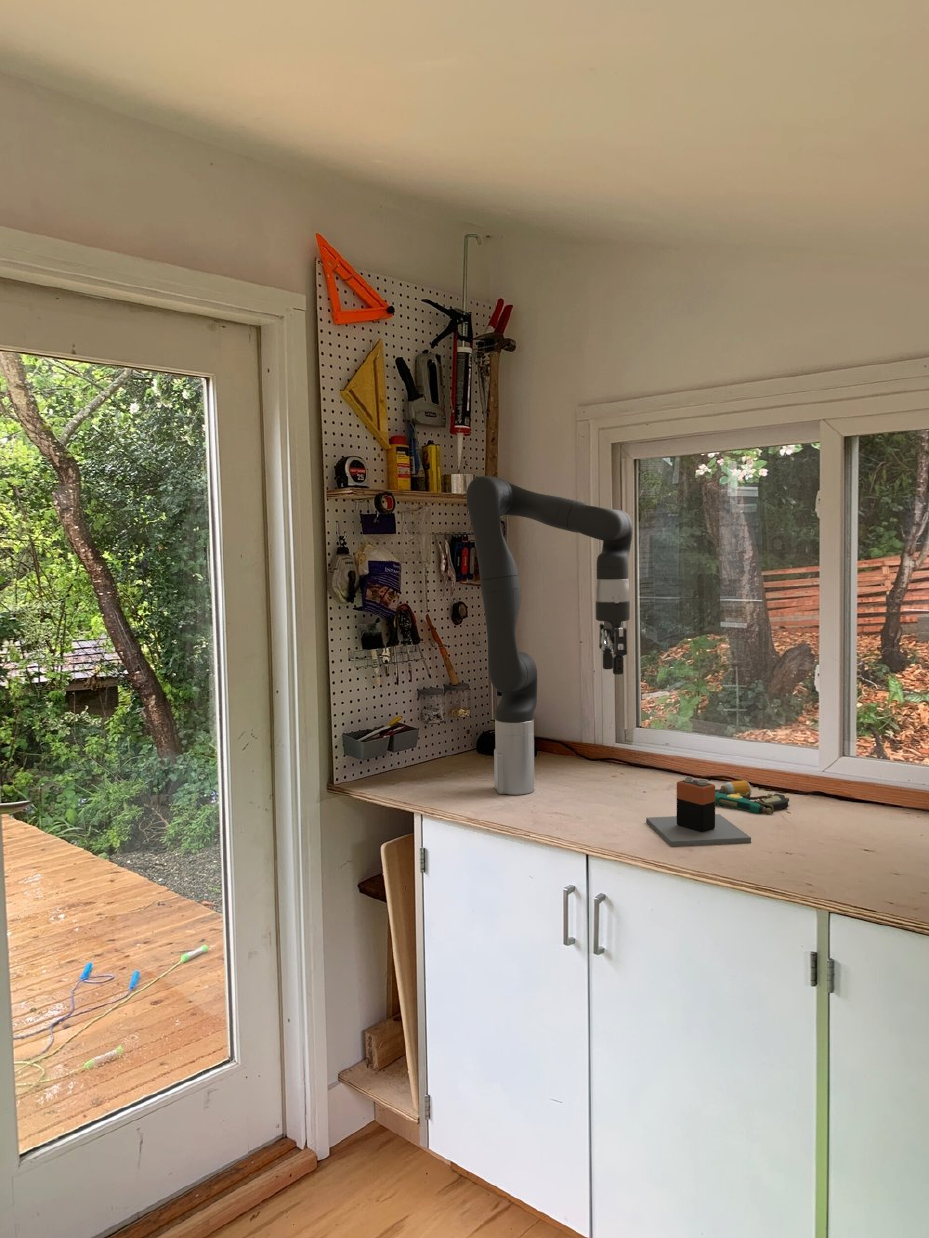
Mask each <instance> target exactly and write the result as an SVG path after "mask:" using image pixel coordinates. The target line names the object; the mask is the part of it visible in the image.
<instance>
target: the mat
mask: <svg viewBox="0 0 929 1238" xmlns="http://www.w3.org/2000/svg"><path fill="white" fill-rule="evenodd" d="M645 823H646V824H647V825H648V826H649V827H650V828H651V829H652V830H653V831H654V832H655V833H657V834H658V835H659V837H661V838H662V839H663V840H664V841H665V842H666V843H667V844H668V845H669V846H671V847H688V846H691V847H692V846H707V845H709V846H712V845H727V844H729V845H730V844H748V843H752V837H751V836H750V835H748V833H747V832H746V833H745V831H743V830H742V829H740V828H739V827H738V826H736V825H735V824H733V823H732V822H731V821H730V820H728V819H727V818H725V816H722V815H721V814H720V813H719V814H717V813H715V828H714V829H711V830H708V831H704V832H699V831H696V830H692V829H689V828H686V827H682V826H679V825H677V815H675V816H657V817H656V816H654V817H646V818H645Z"/></svg>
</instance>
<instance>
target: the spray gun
mask: <svg viewBox="0 0 929 1238" xmlns="http://www.w3.org/2000/svg"><path fill="white" fill-rule="evenodd" d="M751 787H752V786H751V784H750V783H749V782H748V781H747V780H745V779H744V780H735V781H728V782H725V783H724V784H723V785H721V786H720V789H719V788H718V789H716V788H715V805H719V806H720V805H721V806H724V807H725V806H726V807H729V808H734V809H738V810H742V811H743V810H744V811H747V812H750V813H754V814H759V815H760V814H763V813H765V814H772V815H773V814H774V811H777V810H781V809H787V808H788V807H789V802H790V797H787V796H785V795H784V794H781V793H774V794H772V793H768V794H767V795H759V796H751V795H752V788H751Z"/></svg>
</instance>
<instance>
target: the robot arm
mask: <svg viewBox="0 0 929 1238" xmlns="http://www.w3.org/2000/svg"><path fill="white" fill-rule="evenodd" d="M465 495H466V499H465V500H466V505H467V510H468V515H469V519H470V522H471V527H472V531H473V536H474V543H475V549H476V559H477V562H478V563H477V564H478V571H479V583H480V590H481V595H482V602H483V603H482V604H483V611H484V618H485V619H484V620H485V626H486V634H487V635H486V636H487V657H488V658H487V659H488V660H487V661H488V665H487V667H488V675H489V680H490V682H491V684H492V686H493V687H494V688H495V690H496V691H498V692H499V693H501V697H500V701H499V703H498V704H497V706H496V707H495V711H494V721H495V723H494V725H495V726H494V728H495V731H494V734H495V736H494V737H495V738H494V739H495V748H494V750H493V757H494V759H493V764H494V765H493V766H494V767H493V769H494V773H493V775H494V789H495V791H496V792H497V794H499V795H500V794H501V795H502V794H503V795H505V794H507V795H512V796H513V795H515V796H517V795H527V794H530V793H533V792H534V791H535V729H534V728H535V727H534V726H535V723H534V722H535V720H534V719H535V717H534V716H535V710H536V706H537V702H538V668H537V665H536V663H535V660H534V658H533V657H532V655H530V654H528V653H526V652H524V651H519V649H518V643H517V642H518V641H517V624H518V618H519V613H520V607H521V600H522V599H521V598H522V594H521V592H522V591H521V583H520V577H519V570H518V566H517V563H516V561H515V559H514V556H513V554H512V552H511V550H510V548H509V546H508V544H507V542H506V540H505V535H504V533H503V528H502V522H501V521H502V519H501V516H513V517H522V518H527V519H531V520H533V521H536V522H539V523H542V524H543V525H546V526H549V527H552V528H555V529H559V530H564V531H567V532H571V533H578V534H581V535H584V536H586V537H590V538H593V539H596V540H598V541H599V540H600V541H602V548H601V549H602V550H601V552H600V554H598V556H597V557H596V581H595V582H596V584H595V620H596V621H597V622H601V623H599V633H598V634H599V636H598V637H599V645H598V646H599V647H598V648H599V650H601V651H600V652H601V653H602V668H603V670H612V674H613V675H615V676H617V675H623V674H624V657H625V656H628V645H627V643H628V641H627V640H628V639H627V637H628V636H627V635H628V634H627V632H628V631H627V630H628V629H627V627H623V626H622V622H627V621H629V620H630V616H631V615H630V613H631V612H630V610H631V608H630V607H631V606H630V600H631V599H630V598H631V596H630V594H631V593H630V584H629V583H630V582H629V581H630V580H629V555H630V553H631V547H632V540H633V534H634V533H633V530H634V529H633V522H632V519H631V517H630V514H628V513H627V512H626V511H624V510H622V509H612V508H604V507H599V506H594V505H589V504H588V503H585V502H582V501H578V500H575V499H570V498H566V497H561V496H556V495H550V494H543V493H539V492H534V491H531V490H529V489H525V488H522V487H520V486H518V485H517V484H514V483H511V482H509V481H507V480H505V479H503V478H502V477H501V478H500V477H495V476H486V475H480V476H476V477H475V478H473V479H472V480H471V482H469V484H468V487H467V489H466V494H465Z"/></svg>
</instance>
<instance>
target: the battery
mask: <svg viewBox="0 0 929 1238" xmlns="http://www.w3.org/2000/svg"><path fill="white" fill-rule="evenodd" d="M715 789H716V785H715V784H713V783H709V780H707V779H706V778H698V779H694V778H693V777H692V776H685V777H684V779H683V780H679V781H677V782H676V816H677V825H679V826H682V827H686V828H689V829H692V830H696V831H699V832H704V831H708V830H711V829H714V828H715V814H716V804H715Z"/></svg>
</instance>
